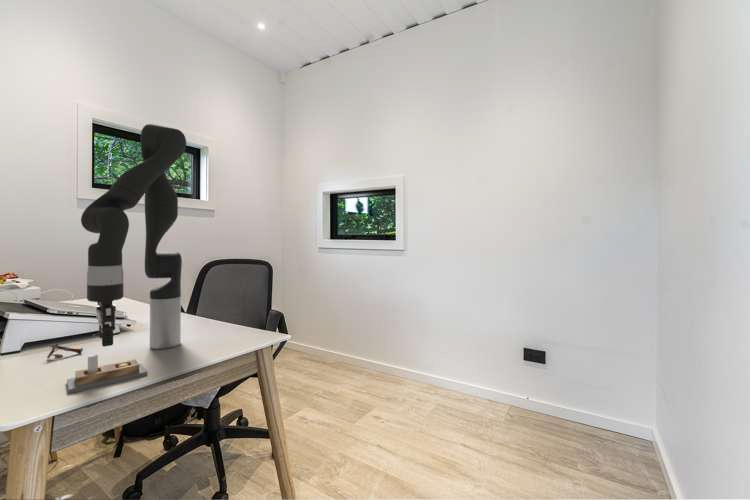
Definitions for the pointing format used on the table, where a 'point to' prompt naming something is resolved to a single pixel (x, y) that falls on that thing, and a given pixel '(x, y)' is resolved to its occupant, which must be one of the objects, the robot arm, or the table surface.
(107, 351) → the table surface
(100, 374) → the holed bar
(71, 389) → the base
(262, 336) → the table surface
